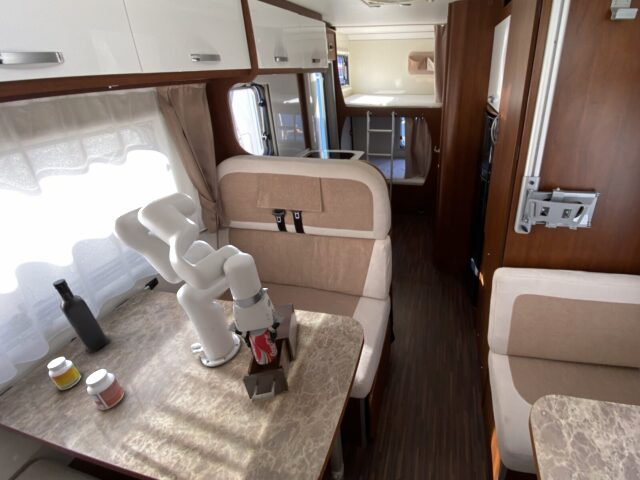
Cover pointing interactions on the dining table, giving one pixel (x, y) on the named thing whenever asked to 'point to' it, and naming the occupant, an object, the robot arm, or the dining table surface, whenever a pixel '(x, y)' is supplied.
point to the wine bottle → (80, 317)
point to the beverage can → (262, 345)
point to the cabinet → (286, 327)
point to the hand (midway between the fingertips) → (262, 340)
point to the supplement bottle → (63, 373)
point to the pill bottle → (104, 389)
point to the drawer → (268, 375)
